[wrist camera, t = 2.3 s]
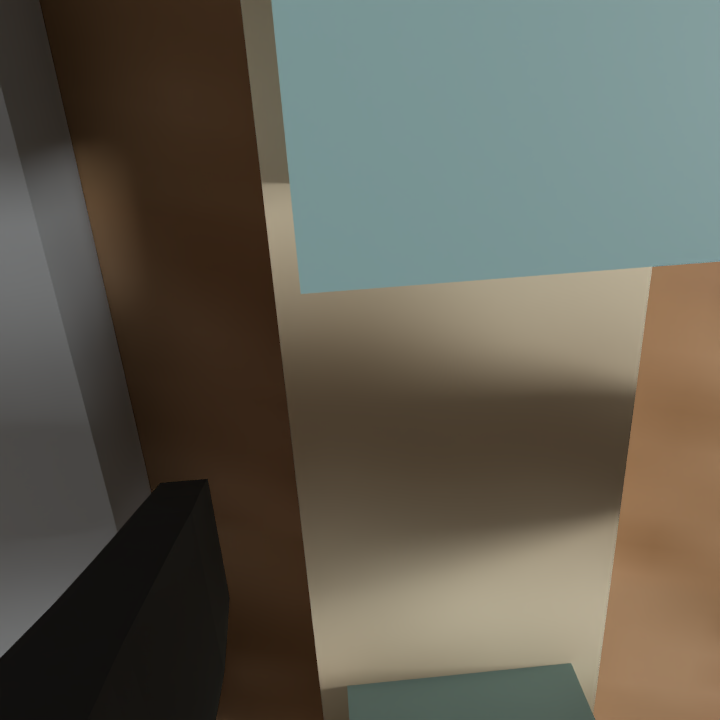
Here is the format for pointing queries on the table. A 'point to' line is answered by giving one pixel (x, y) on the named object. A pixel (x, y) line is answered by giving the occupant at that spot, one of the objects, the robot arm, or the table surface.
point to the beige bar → (449, 451)
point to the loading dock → (52, 349)
